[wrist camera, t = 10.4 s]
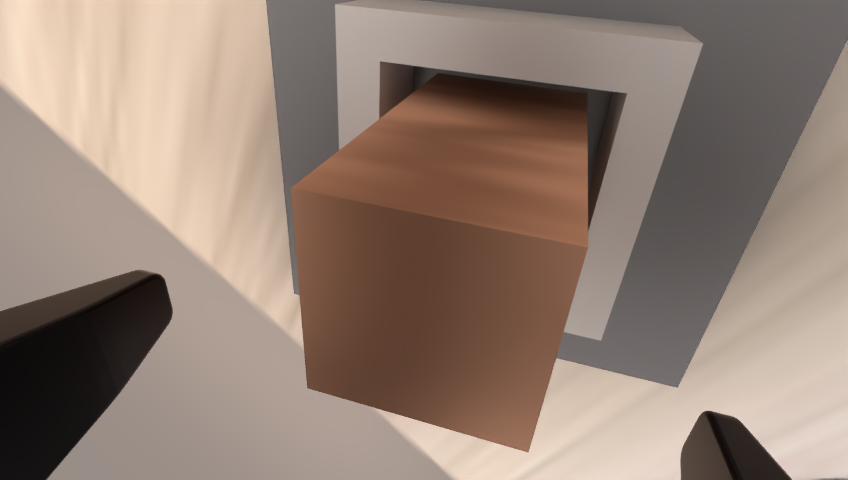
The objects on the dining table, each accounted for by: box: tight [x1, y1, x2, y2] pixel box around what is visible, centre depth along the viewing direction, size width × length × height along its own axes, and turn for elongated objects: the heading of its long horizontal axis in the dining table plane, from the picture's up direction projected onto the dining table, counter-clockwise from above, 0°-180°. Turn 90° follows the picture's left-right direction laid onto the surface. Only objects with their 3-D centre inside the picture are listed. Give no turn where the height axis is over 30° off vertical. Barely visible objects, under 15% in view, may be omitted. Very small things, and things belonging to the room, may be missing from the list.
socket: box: [266, 0, 848, 388], centre depth 15 cm, size 16×16×4 cm
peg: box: [291, 73, 588, 452], centre depth 12 cm, size 4×4×9 cm
